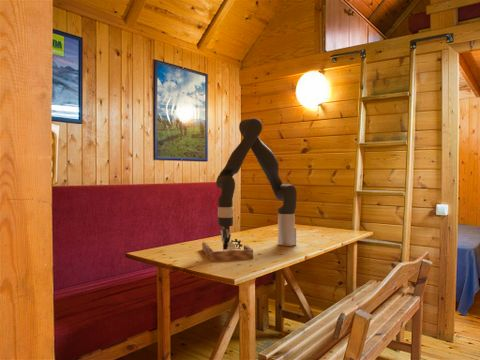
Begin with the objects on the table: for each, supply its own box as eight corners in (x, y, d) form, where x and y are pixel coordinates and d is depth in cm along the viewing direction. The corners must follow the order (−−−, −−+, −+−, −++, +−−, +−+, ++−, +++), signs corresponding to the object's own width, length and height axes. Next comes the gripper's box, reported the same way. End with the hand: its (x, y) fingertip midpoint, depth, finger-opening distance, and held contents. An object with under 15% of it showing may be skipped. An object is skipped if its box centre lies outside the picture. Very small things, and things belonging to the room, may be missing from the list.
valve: (237, 257, 175) (242, 251, 187) (237, 243, 175) (242, 238, 186) (223, 256, 176) (229, 251, 188) (223, 242, 176) (229, 238, 188)
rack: (239, 247, 197) (239, 239, 197) (253, 258, 172) (253, 248, 172) (202, 249, 192) (202, 241, 192) (210, 261, 167) (210, 251, 167)
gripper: (236, 217, 176) (236, 253, 177) (230, 214, 189) (230, 248, 190) (220, 217, 175) (220, 254, 175) (215, 214, 187) (215, 248, 188)
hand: (225, 251), depth 182 cm, fingers closed
